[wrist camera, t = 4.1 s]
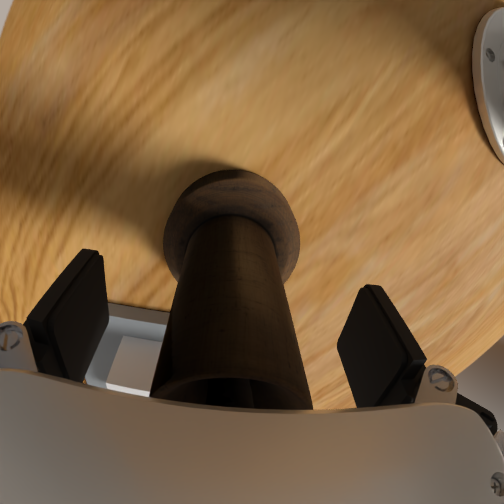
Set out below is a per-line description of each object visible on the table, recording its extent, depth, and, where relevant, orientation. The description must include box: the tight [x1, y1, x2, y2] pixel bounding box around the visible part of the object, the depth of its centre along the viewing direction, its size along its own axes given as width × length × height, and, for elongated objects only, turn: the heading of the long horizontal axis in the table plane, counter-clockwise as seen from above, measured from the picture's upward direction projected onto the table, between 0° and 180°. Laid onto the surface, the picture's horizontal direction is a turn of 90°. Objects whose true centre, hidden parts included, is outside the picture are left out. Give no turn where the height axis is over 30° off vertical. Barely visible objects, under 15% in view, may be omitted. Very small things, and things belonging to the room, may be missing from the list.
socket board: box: [85, 303, 170, 397], centre depth 22 cm, size 14×24×5 cm, turn 171°
